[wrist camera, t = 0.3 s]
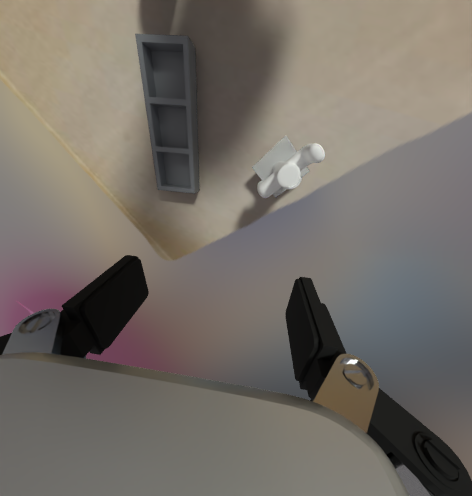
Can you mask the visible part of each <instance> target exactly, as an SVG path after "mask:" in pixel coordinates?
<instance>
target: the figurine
mask: <svg viewBox="0 0 472 496" xmlns="http://www.w3.org/2000/svg"><path fill="white" fill-rule="evenodd" d="M324 157H325V152H324V149H323V148H322V146H321V145H319V144H317V143H313V144H307V145H305V146H304V147H302V148H301V149H300V150H299V151H298V152H297V151H296V150H295V148H294V147H293V145H292V144H291V142H290V141H289V139H288V138H287V136H285V137H283V138H282V139H281V140H280V141H279V142H278V143H277V144H276V145H275V146H274V147H273V148H272V149H271V150H270V151H269V152H268V153H266V154H265V155H264V156H263V157H262V158H261V159H260V160H259V161H258V162H257V163H256V164H255V165H254V166H253V167H252V168H253V169H254V171H255V172H256V173H257V175H258V176H259V177H260V178H261V180H262V181H260V182H259V183H258V185H257V190H258V193H259V195H260V196H261V197H263V198H268V197H269V196H271V195H272V194H273V195H274V197H275V198H277V197H278V196H279V195H280V194H282V193H283V192H284V191H285V190H287V189H293V188H295V187H297V186H298V185H299V184H300V182H301V180H302V177H303V176H304V175H306V174H307V173H308V172H309V169H308V168H307V166H308V165H310V164H311V163H319V162H321V161H322V160H323V159H324Z"/></svg>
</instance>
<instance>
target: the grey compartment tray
mask: <svg viewBox="0 0 472 496" xmlns="http://www.w3.org/2000/svg"><path fill="white" fill-rule="evenodd" d="M135 35H136V42H137V49H138V56H139V63H140V70H141V77H142V84H143V90H144V97H145V104H146V111H147V118H148V125H149V132H150V139H151V146H152V153H153V160H154V167H155V173H156V180H157V187H158V190H166V191H176V192H186V193H196V192H198V191H199V190H200V189H199V155H198V121H197V88H196V54H195V47H194V45H193V43H192V42H191V40H190V39H189V37H188V36H178V35H153V34H135Z"/></svg>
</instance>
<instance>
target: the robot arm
mask: <svg viewBox="0 0 472 496" xmlns="http://www.w3.org/2000/svg"><path fill="white" fill-rule="evenodd" d="M147 296H148V288H147V284H146V280H145V276H144V272H143V268H142V264H141V260H140V259H138V257H136V256H130V255H127V256H124V257H123V258H122V259H121V260H119V261H118V262H117V263H115V264H114V265H113V266H112V267H110V268H109V269H108V270H107V271H105V272H104V273H103V274H102V275H100V276H99V277H98V278H96V279H95V280H94V281H93V282H91V283H90V284H89V285H87V286H86V287H85V288H84V289H82V290H81V291H80V292H79V293H77V294H76V295H75V296H74V297H72V298H71V299H70V300H68V301H67V302H66V303H64V304H63V305H62V307H63V309H64V310H62V311H61V312H60V311H59V310H57V309H46V310H42V311H39V312H36V313H34V314H32V315H30V316H28V317H26V318H25V319H23V320H22V321H21V322H19V323H18V324H17V325H16V327H15V328H14V330H13V332H12V333H10V334H7V335H4V336H1V337H0V496H472V481H471V479H470V476H469V474H468V472H467V470H466V468H465V467H464V465H463V464H462V462H461V461H460V459H459V458H458V457H457V455H456V454H455V453H454V452H453V451H452V449H450V447H449V446H448V445H447V444H445V443H444V442H443V441H442V440H441V439H440V438H439V437H438V436H436V435H435V434H434V433H433V432H431V431H430V430H429V429H428V428H427V427H426V426H424V425H423V424H422V423H421V422H420V421H418V420H417V419H416V418H415V417H413V416H412V415H411V414H410V413H408V412H407V411H406V410H405V409H404V408H403V407H401V406H400V405H399V404H398V403H396V402H395V401H394V400H393V399H392V398H390V397H389V396H388V395H387V394H386V393H384V392H383V391H382V390H381V389H380V388H379V383H378V380H377V377H376V375H375V374H374V372H373V370H372V369H371V368H370V367H369V366H368V365H367V364H366V363H365V362H364V361H362V360H361V359H359V358H358V357H356V356H354V355H351V354H346V351H345V349H344V347H343V345H342V342H341V340H340V337H339V335H338V333H337V330H336V328H335V326H334V323H333V321H332V318H331V316H330V314H329V311H328V309H327V307H326V305H325V304H323V303H321V302H320V300H319V297H318V295H317V292H316V290H315V287H314V285H313V282H312V280H311V278H305V277H300V278H299V279H296V280H295V283H294V286H293V290H292V293H291V296H290V300H289V303H288V306H287V309H286V322H287V329H288V335H289V342H290V348H291V355H292V361H293V368H294V374H295V379H296V380H297V381H299V383H300V388H301V389H305V390H307V391H308V395H309V397H310V398H311V400H310V401H309V400H306V399H303V398H299V397H295V396H291V395H287V394H283V393H278V392H273V391H268V390H263V389H258V388H253V387H247V386H242V385H235V384H230V383H225V382H219V381H214V380H208V379H202V378H197V377H191V376H185V375H180V374H174V373H168V372H162V371H156V370H151V369H145V368H139V367H133V366H127V365H121V364H115V363H109V362H103V361H97V360H91V359H86V355H87V353H88V352H89V351H90V353H94V354H101V353H102V352H103V351H104V349H106V348H108V347H109V346H110V345H111V344H112V342H113V341H114V340H115V338H116V337H117V336H118V335H119V333H120V332H121V331H122V329H123V328H124V327H125V325H126V324H127V323H128V321H129V320H130V319H131V318H132V316H133V315H134V314H135V312H136V311H137V310H138V308H139V307H140V306H141V305H142V303H143V302H144V300H145V299H146V298H147Z"/></svg>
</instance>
